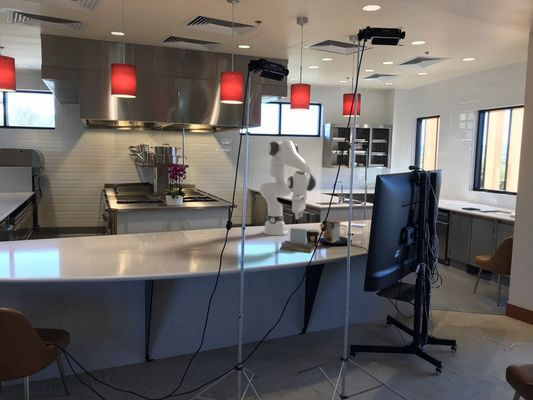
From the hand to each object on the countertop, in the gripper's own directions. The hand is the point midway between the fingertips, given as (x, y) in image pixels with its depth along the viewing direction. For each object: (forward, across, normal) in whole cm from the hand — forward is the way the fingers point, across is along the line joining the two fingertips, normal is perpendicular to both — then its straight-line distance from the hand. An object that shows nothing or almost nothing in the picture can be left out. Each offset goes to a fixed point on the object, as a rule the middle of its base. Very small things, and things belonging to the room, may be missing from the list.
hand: (298, 218), depth 293 cm
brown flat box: (+20, 0, 0) cm, 20 cm away
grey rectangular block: (+19, 0, 0) cm, 19 cm away
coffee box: (+21, -25, +17) cm, 37 cm away
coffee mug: (+21, -16, +7) cm, 27 cm away
